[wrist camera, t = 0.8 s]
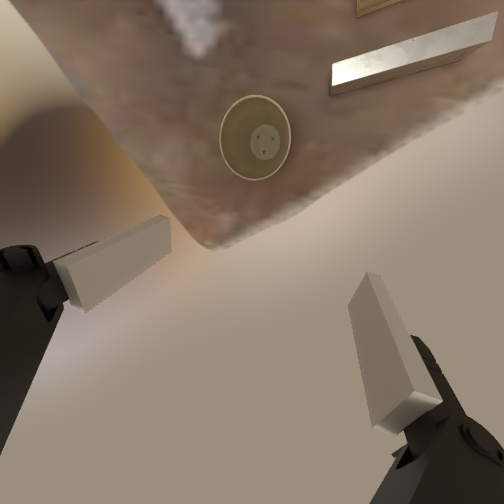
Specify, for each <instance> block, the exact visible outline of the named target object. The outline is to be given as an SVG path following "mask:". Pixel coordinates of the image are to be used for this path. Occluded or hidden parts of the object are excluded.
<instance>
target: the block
mask: <svg viewBox="0 0 504 504" xmlns="http://www.w3.org/2000/svg"><path fill="white" fill-rule="evenodd" d="M400 1H403V0H357V5H356V18H358V17H360V16H363V15H365V14H368V13H371V12H373V11H376V10H379V9H381V8H384V7H387V6H389V5H392V4H395V3H397V2H400Z"/></svg>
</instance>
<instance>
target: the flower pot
mask: <svg viewBox="0 0 504 504" xmlns="http://www.w3.org/2000/svg"><path fill="white" fill-rule="evenodd" d="M257 137H258V138H259V139H258V138H257ZM272 137H273V139H272ZM219 143H220V150H221V153H222V156H223V158H224V160H225V162H226V164H227V165H228V167H229V168H230V169H231V170H232V171H233V172H234V173H235V174H236V175H238V176H240V177H241V178H244V179H247V180H262V179H265V178H268V177H270V176H271V175H273V174H274V173H275V172H276V171H278V170H279V169H280V167H281V166H282V165H283V163H284V162H285V160H286V158H287V155H288V153H289V150H290V145H291V129H290V124H289V121H288V118H287V116H286V114H285V112H284V111H283V109H282V108H281V107H280V105H279V104H278V103H276V102H275V101H274V100H272V99H271V98H269V97H266V96H263V95H249V96H245V97H243V98H241V99H239V100H237V101H236V102H235V103H234V104H233V105H232V106H231V107H230V108H229V109H228V111H227V112H226V114H225V116H224V118H223V121H222V123H221V127H220V134H219ZM264 152H265V153H264Z"/></svg>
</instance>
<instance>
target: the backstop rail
mask: <svg viewBox="0 0 504 504" xmlns="http://www.w3.org/2000/svg"><path fill="white" fill-rule="evenodd" d="M497 15H498V11H496V12H493V13H490V14H487V15H484V16H481V17H478V18H475V19H472V20H468V21H465V22H462V23H459V24H456V25H453V26H450V27H447V28H443V29H440V30H437V31H434V32H431V33H428V34H425V35H422V36H418V37H415V38H412V39H409V40H406V41H403V42H400V43H397V44H393V45H390V46H387V47H384V48H381V49H378V50H375V51H372V52H368V53H365V54H362V55H359V56H356V57H353V58H350V59H347V60H343V61H340V62H337V63H334V64H332V69H331V75H330V96H332V95H335V94H339V93H343V92H346V91H350V90H354V89H357V88H361V87H365V86H368V85H372V84H376V83H379V82H383V81H387V80H391V79H394V78H398V77H402V76H405V75H409V74H413V73H416V72H420V71H424V70H427V69H431V68H435V67H438V66H442V65H446V64H449V63H453V62H457V61H460V60H461V59H463V58H464V57H466V56H467V55H469V54H471V53H472V52H474V51H475V50H477V49H478V48H480V47H481V46H483V45H485V44H486V43H488V42H489V41H491V40H492V35H493V31H494V27H495V23H496V19H497Z"/></svg>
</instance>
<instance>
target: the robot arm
mask: <svg viewBox="0 0 504 504" xmlns="http://www.w3.org/2000/svg"><path fill="white" fill-rule="evenodd" d="M170 252H171V232H170V218H169V217H165V216H162V215H159V216H157V217H155V218H152V219H150V220H148V221H145V222H143V223H141V224H138V225H136V226H134V227H131V228H129V229H127V230H124V231H122V232H120V233H117V234H115V235H113V236H110V237H108V238H106V239H103V240H101V241H98V242H94V243H92V244H90V245H87V246H86V247H82V248H80V249H78V250H77V251H73V252H71V253H68V254H66V255H64V256H62V257H59V258H57V259H54V260H52V261H50V262H48V263H45V264H44V261H43V259H42V257H41V255H40V253H39V250H38V248H37V247H36V246H32V245H16V246H10V247H6V248H3V249H0V455H1V452H2V450H3V448H4V445H5V443H6V440H7V438H8V436H9V434H10V431H11V429H12V427H13V425H14V422H15V420H16V418H17V415H18V413H19V411H20V409H21V406H22V404H23V402H24V399H25V397H26V395H27V392H28V390H29V388H30V385H31V383H32V381H33V379H34V376H35V374H36V372H37V369H38V367H39V365H40V363H41V360H42V358H43V356H44V353H45V351H46V349H47V346H48V344H49V342H50V339H51V337H52V335H53V333H54V330H55V328H56V325H57V323H58V321H59V319H60V316H61V314H62V312H63V310H64V306H63V302H65V301H67V300H68V299H69V300H70V303H71V305H72V308H73V309H76V310H78V311H81V312H83V313H87V312H88V311H89V310H91V309H92V308H93V307H95V306H96V305H98V304H99V303H100V302H102V301H103V300H105V299H106V298H107V297H109V296H110V295H112V294H113V293H114V292H116V291H117V290H119V289H120V288H121V287H123V286H124V285H126V284H127V283H128V282H130V281H131V280H133V279H134V278H135V277H137V276H138V275H139V274H141V273H142V272H144V271H145V270H146V269H148V268H149V267H151V266H152V265H153V264H155V263H156V262H158V261H159V260H160V259H162V258H163V257H165V256H166V255H167V254H169V253H170ZM348 309H349V313H350V319H351V324H352V329H353V334H354V339H355V344H356V349H357V354H358V359H359V364H360V369H361V374H362V379H363V384H364V389H365V394H366V399H367V404H368V409H369V415H370V419H371V425H372V428H373V429H376V430H378V431H381V432H384V433H386V434H388V435H391V436H394V437H395V436H396V435H397V434H399V433H400V432H402V431H403V430H404V433H405V436H406V439H407V442H408V443H407V444H406V445H404V446H403V447H401V448H400V449H398V450H397V451H395V452H394V453H392V456H393V457H394V458H395V457H396V459H395V461H394V463H393V464H392V466H391V468H390V470H389V471H388V473H387V475H386V476H385V478H384V480H383V481H382V483H381V485H380V486H379V488H378V490H377V492H376V494H375V495H374V497H373V498H372V500H371V502H370V504H504V449H503V448H502V446H501V445H500V444H499V443H498V441H497V440H496V439H495V438H494V436H492V435H491V434H490V433H489V432H488V431H487V430H486V429H485V428H484V427H483V426H482V425H480V424H479V423H477V422H476V421H475V420H473V419H472V418H470V417H468V416H467V415H466V414H465V412H464V410H463V408H462V407H461V404H460V403H459V401H458V399H457V397H456V396H455V394H454V392H453V390H452V388H451V387H450V385H449V383H448V381H447V380H446V378H445V376H444V374H442V371H441V369H440V367H439V365H438V364H437V363H436V360H435V358H434V356H433V355H432V353H431V351H430V349H429V348H428V347H427V346H426V345H425V344H424V343H423V342H422V341H421V339H420V338H419V337H416V336H413V335H410V334H409V332H408V330H407V328H406V326H405V324H404V322H403V320H402V318H401V316H400V314H399V312H398V310H397V308H396V306H395V304H394V302H393V300H392V298H391V296H390V294H389V292H388V290H387V288H386V286H385V284H384V282H383V280H382V278H381V276H379V275H375V274H372V273H368V272H366V274H365V276H364V278H363V280H362V281H361V283H360V285H359V287H358V288H357V290H356V292H355V294H354V296H353V297H352V299H351V301H350V303H349V305H348Z"/></svg>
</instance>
